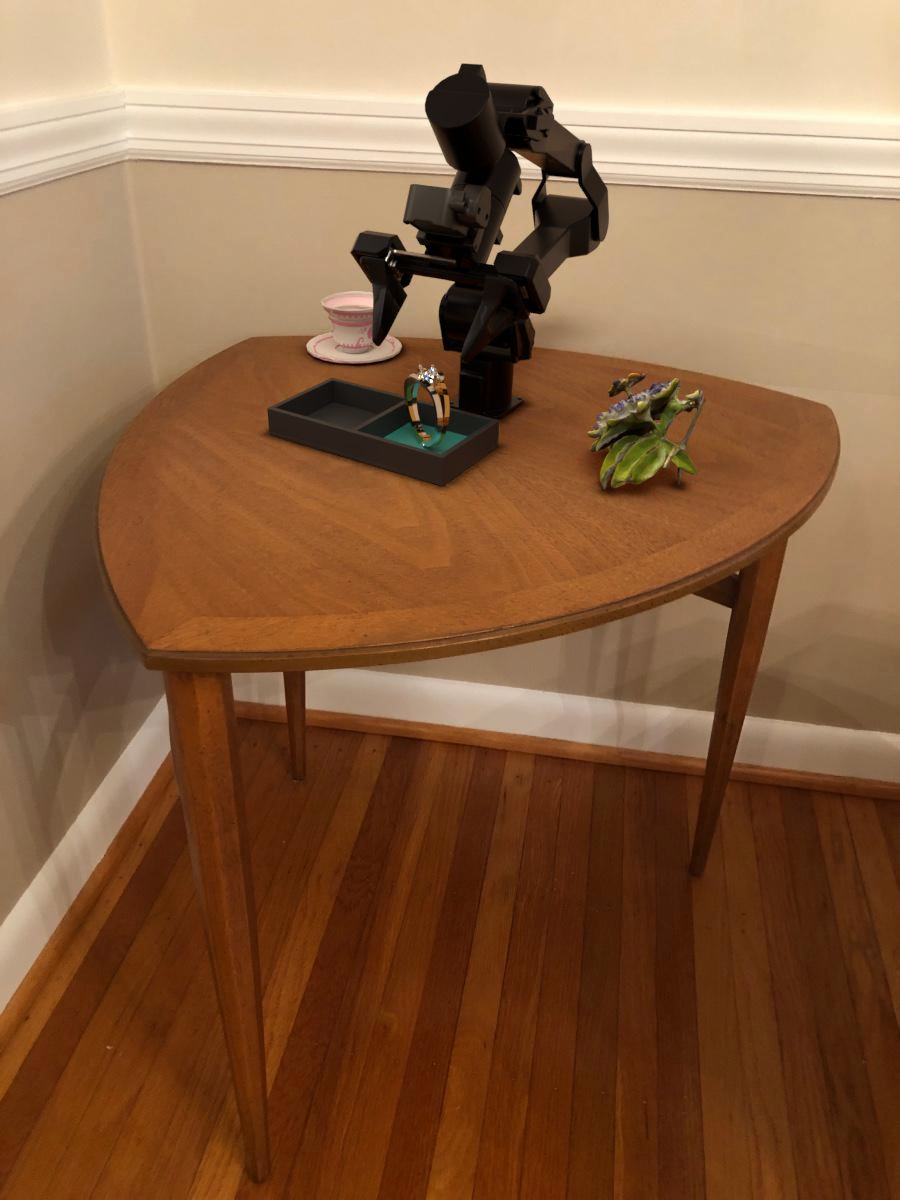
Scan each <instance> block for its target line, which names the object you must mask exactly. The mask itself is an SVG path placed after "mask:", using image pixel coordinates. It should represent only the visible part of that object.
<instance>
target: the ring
mask: <svg viewBox="0 0 900 1200" xmlns="http://www.w3.org/2000/svg"><path fill="white" fill-rule="evenodd" d="M444 380H445V374H444V373H443V372H442V371H441V370H438V369H437V368H436V367H435V365H434V364H430V368H428V369H427V368H425V367H423V364H418V365H417V374H416V373H411V374H409V375H408V377H406V378H405V380H404V381H403V396H404V397H405V403H406V408H407V412H408V416H409V419H410V422H411V425H412V428H413V430H414V433H415V435H416V436H417V438H418V440H419V441H420V444H421V446H422V447H425V446H426V447H430V446H437V445H439V444H440V443H441V442H442V440H443V438H444V436H445V434H446V431H447V427H448V422H449V413H450V404H449V402H450V396H449V391H448V388H447V385H446V383H445V381H444ZM420 386H421V387H422V388H424V390H426V392H427V393H428V395H429V396H430V398H431V400H432V403H433V404H434V408H435V414H436V427H435V432H434V435H433V437H432V439H431V436H430V435H429V434H428V435H427V434H426V433H425V431H424V430H423V427H422V425H421V422H420V419H419V415H418V410H417V399H418V393H419V392H418V391H419V387H420Z"/></svg>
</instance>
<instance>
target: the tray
mask: <svg viewBox="0 0 900 1200" xmlns="http://www.w3.org/2000/svg"><path fill="white" fill-rule="evenodd" d="M266 410H267V421H268V423H267V424H268V434H269V436H272V437H276V438H279V439H282V440H286V441H289V442H292V443H296V444H299V445H303V446H306V447H309V448H311V449H312V448H313V449H316V450H319V451H323V452H327V453H329V454H332V455H336V456H339V457H343V458H346V459H349V460H352V461H356V462H360V463H362V464H366V465H371V466H373V467H376V468H379V469H383V470H386V471H390V472H394V473H395V474H400V475H402V476H403V475H404V476H407V477H410V478H413V479H417V480H421V481H423V482H427V483H430V484H434V485H437V486H439V487H443V486H445V485H447V484H448V483H449V482H451V481H452V480H453V479H455V478H456V477H458V476H459V475H460V474H461V473H463V472H465V471H466V470H468V469H469V468H471V467H472V466H473V465H475V464H476V463H477V462H479V461H481V460H482V459H483V458H484V457H486V456H488V455H489V454H490V453H492V452H493V451H494V450H496V449H498V448H499V435H500V419H499V420H497V419H493V418H489V417H485V416H481V415H477V414H473V413H469V412H465V411H461V410H458V409H454V408H450V413H449V422H448V427H447V431H446V434H445V436H444V438H443V440H442V442H441V443H440V444H439V445H437V446H430V447H426V446H425V447H422V446H421V444H420V441H419V440H418V438H417V436H416V435H415V433H414V430H413V428H412V425H411V422H410V419H409V416H408V412H407V408H406V403H405V397H404V394H399V393H395V392H390V391H386V390H383V389H379V388H375V387H371V386H367V385H364V384H359V383H355V382H351V381H348V380H343V379H340V378H335V377H330V378H328V379H326V380H324V381H322V382H319V383H318V384H317V383H316V385H313V386H311V387H308V388H307V389H305V390H303V391H300V392H298V393H296V394H294V395H292V396H290V397H288V398H286V399H283V400H282V401H280V402H277V403H275V404H273V405H270V406H269V407H267V408H266ZM417 410H418V415H419V419H420V422H421V425H422V427H423V430H424V431H425V433H426V434H427V435H428V434H429V435H430V436H431V439H432V437H433V435H434V432H435V427H436V414H435V408H434V404H433V402H430V401H426V400H422V399H418V398H417Z"/></svg>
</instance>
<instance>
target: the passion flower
mask: <svg viewBox="0 0 900 1200" xmlns="http://www.w3.org/2000/svg"><path fill="white" fill-rule="evenodd" d="M646 377H647V373H646V372H642V373H637V372H632V373H629V374H628V375H627V377H626V378H624V377H621V378H615V379H614V380H613V381H612V386H611V387H610V388H609V389H608V390H607V393H608V397H609V398H614V397H616V396H618V395H620V394H621V393H622V392H625V393H626V395H627V398H623V399H620V400H619V401H618V402H617V403H615V404H608V406H609V408H608V410H607V411H601V412H600V414H598V415H597V416H596V417H595V419H596V424H595V425H593V426H590V427H589V428H590V429H592V428H593V429H592V430H589V431H588V432H587V436H588V437H589V438H592V439H596V440H595V441H594V442H593V443H592V444H591V447H590V448H589V450H590V452H591V453H598V452H600V451H604V450H605V449H607V448H608V453H607V454H606V456H605V458H604V459H603V462H602V465H601V468H600V469H599V482H600V484H601V488H602V490H604V491H605V490H606V489H607V485H608V482H609V481H610V487H611V488H613V489H617V488H619V487H621V486H625V485H627V484H628V483H630V484H633V485H641V483H644V482H646V481H648V480H649V479H651V478H652V477H654V476H655V475H656V474H657V472H658V471H659V470H661V468H662V469H663V470H664V471H667V470H669V468H670V464H671V462H672V463H673V464H674V465H675V466H676V467H677V472H676V476H677V478H676V479H677V480H676V481H677V482H676V484H677V486H680V482H681V478H682V473H683V472H685V473H688V474H690V475H692V476H696V475H697V468H696V466H695V463H694V462H693V461H692V459H691V457H690V456H689V454H688V453H687V448H688V442H689V438H690V437H691V434H692V432H693V430H694V427H695V424H696V423H697V420H698V418H699V416H700V414H701V413H702V411H703V410H704V406H705V404H706V401H707V399H706V397H705V395H704V392H703V389H696V390H695V391H694V392H693V393H690V394H686V395H685V398H686V399H687V400H686V399H679V397H678V395H679V391H681V389H682V385H680V381H681V380H680V378H678V377H674V379H673V380H672V379H668V380H667V381H666V382H665V383H664V381H658V382H655V383H652V385H651V386H650V388H649V389H647V388H644V389H643V390H642V391H641V392H639V393H637V392H634V394H633V393H632V391H631V388H632V387H634V386H636V385H637V384H639V383H641V382H642V381H643V380H645V378H646ZM694 409H696V413H695V415H694V417H693V418H692V420H691V423H690V425H689V427H688V428H687V432H686V433H685V436H684V437H683V439H682V440H681V441H679V442H678V443H675V442H674V441H671V440H669V439H668V436H667V435H668V432H669V431H668V430H669V428H670V427H671V425H672V424H673V423H674V421H675V419H676V417H677V416H678V415H680V414H681V413H683V412H686V413H689V414H690V413H691V412H692V411H693V410H694ZM655 421H659V422H655ZM597 438H598V439H597ZM611 477H612V478H611ZM610 479H611V480H610Z"/></svg>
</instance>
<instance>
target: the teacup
mask: <svg viewBox="0 0 900 1200" xmlns="http://www.w3.org/2000/svg"><path fill="white" fill-rule="evenodd" d="M320 304H321V307H322V308H323V310H324V312H326V313H327V314H328V319H329V320H330V321H331V323H332V331H329V332H326V333H325V332H324V333H322V334H319V335H316V336H314V337H313V338H310V339H309V340H308V342H307V343H306V345H305V347H306V351H307V353H308V354H310V355H311V356H312V357H314V358H317V359H320V360H322V361H326V362H330V363H337V364H351V365H352V364H370V363H376V362H381V361H386V360H389V359H392V358H394V357H396V356H397V355H399V354H400V353H401V351H402V349H403V345H402V343H401V341H400V340H399V339H397V338H396V337H394V336H393V335H390V334H388V335H387V336H386V338H385V339H384V341H383V342H382V344H381V345H380V346H376V345H375V344H374V343H373V341H372V327H373V291H360V290H358V291H355V290H353V291H351V290H350V291H343V292H337V293H336V292H335V293H333V294H329V295H326V296H325V297H323V298H322V299H321V300H320Z"/></svg>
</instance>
